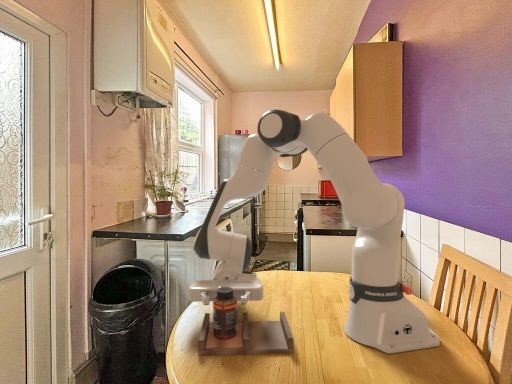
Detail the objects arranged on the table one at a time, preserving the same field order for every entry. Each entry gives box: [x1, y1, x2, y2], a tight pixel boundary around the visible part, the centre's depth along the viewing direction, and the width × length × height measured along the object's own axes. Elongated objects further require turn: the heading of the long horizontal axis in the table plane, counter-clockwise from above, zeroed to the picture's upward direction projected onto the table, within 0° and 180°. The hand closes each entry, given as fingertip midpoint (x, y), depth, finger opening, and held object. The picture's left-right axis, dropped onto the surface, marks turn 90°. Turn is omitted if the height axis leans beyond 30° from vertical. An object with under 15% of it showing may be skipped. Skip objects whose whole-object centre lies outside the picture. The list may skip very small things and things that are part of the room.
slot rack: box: [197, 311, 294, 356], centre depth 77 cm, size 22×14×4 cm, turn 93°
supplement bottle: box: [212, 287, 238, 339], centre depth 77 cm, size 6×6×11 cm
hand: (225, 302), depth 78 cm, fingers open, 8 cm apart
